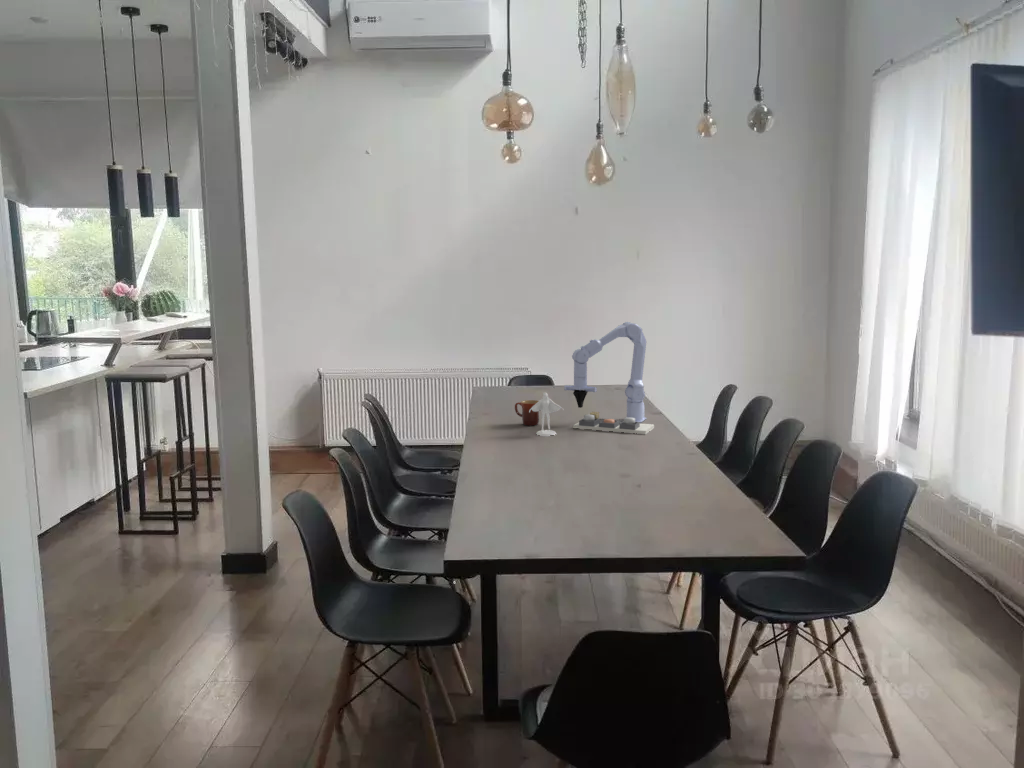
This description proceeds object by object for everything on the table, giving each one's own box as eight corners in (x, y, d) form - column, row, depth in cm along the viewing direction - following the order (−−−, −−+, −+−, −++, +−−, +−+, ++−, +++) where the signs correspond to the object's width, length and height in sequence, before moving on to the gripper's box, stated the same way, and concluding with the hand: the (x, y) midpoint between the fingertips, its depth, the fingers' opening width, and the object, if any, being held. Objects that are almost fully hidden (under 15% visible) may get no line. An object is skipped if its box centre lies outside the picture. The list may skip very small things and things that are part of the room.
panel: (583, 422, 360) (583, 414, 359) (654, 427, 347) (654, 419, 346) (573, 428, 348) (573, 420, 347) (645, 434, 334) (645, 426, 334)
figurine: (529, 436, 334) (528, 393, 331) (530, 430, 345) (529, 389, 342) (564, 436, 334) (563, 393, 331) (563, 430, 344) (563, 389, 341)
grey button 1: (585, 419, 351) (585, 414, 351) (595, 420, 349) (595, 414, 349) (582, 421, 347) (582, 416, 347) (592, 422, 345) (592, 416, 345)
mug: (543, 423, 359) (543, 400, 357) (535, 427, 351) (534, 404, 350) (519, 421, 365) (519, 399, 363) (510, 425, 357) (510, 402, 355)
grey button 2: (625, 422, 344) (625, 416, 343) (636, 423, 342) (636, 417, 341) (622, 424, 340) (622, 419, 339) (633, 425, 338) (633, 419, 337)
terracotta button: (605, 424, 348) (605, 418, 347) (615, 425, 346) (616, 419, 345) (602, 426, 343) (602, 420, 343) (612, 427, 342) (612, 421, 341)
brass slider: (592, 419, 357) (592, 411, 356) (599, 420, 356) (599, 412, 355) (589, 421, 353) (589, 413, 353) (596, 421, 352) (596, 413, 352)
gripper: (561, 377, 354) (561, 407, 356) (593, 378, 348) (593, 409, 350) (567, 374, 360) (567, 404, 362) (598, 376, 354) (598, 407, 356)
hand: (580, 407), depth 356 cm, fingers closed
